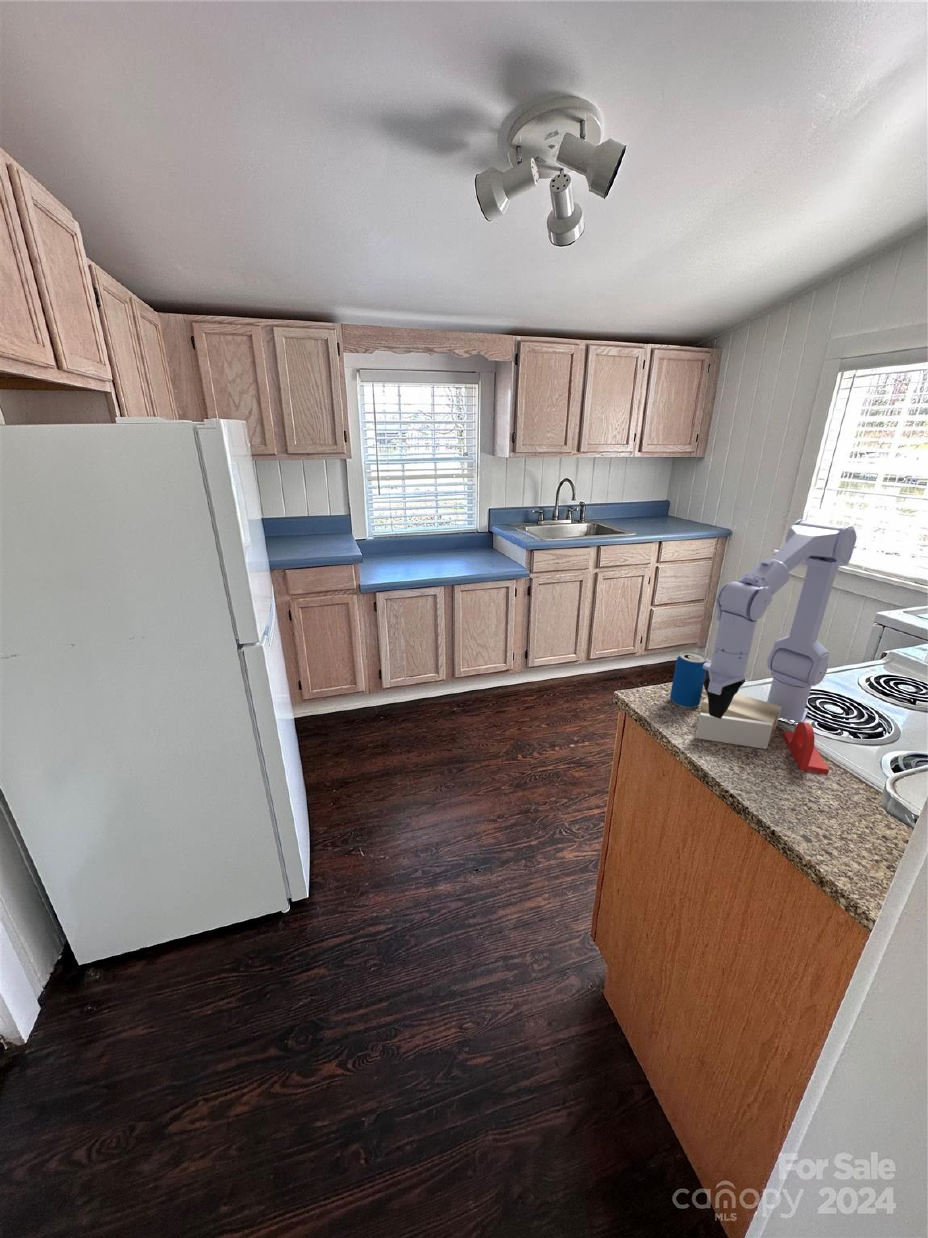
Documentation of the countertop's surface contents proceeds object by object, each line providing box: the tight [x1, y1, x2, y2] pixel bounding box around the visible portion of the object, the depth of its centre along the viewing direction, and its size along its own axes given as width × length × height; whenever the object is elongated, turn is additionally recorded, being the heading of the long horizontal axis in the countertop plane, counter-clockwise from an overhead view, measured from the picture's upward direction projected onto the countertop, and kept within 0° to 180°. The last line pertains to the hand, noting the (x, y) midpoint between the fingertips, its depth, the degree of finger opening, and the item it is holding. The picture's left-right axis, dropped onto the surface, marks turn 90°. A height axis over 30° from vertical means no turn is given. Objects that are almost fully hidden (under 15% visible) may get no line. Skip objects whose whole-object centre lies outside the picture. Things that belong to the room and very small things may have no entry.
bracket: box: [781, 721, 830, 775], centre depth 96 cm, size 12×4×8 cm, turn 163°
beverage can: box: [669, 651, 707, 709], centre depth 113 cm, size 6×6×12 cm
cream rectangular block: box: [699, 692, 782, 744], centre depth 105 cm, size 9×13×6 cm
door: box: [695, 712, 773, 750], centre depth 99 cm, size 1×13×6 cm, turn 74°
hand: (717, 713), depth 93 cm, fingers open, 2 cm apart
